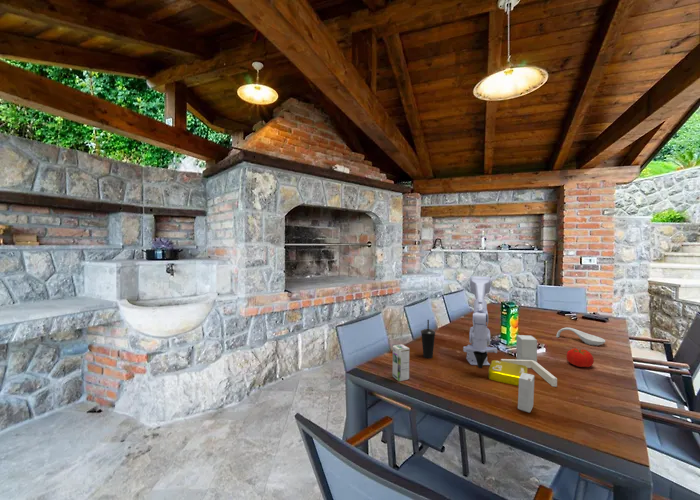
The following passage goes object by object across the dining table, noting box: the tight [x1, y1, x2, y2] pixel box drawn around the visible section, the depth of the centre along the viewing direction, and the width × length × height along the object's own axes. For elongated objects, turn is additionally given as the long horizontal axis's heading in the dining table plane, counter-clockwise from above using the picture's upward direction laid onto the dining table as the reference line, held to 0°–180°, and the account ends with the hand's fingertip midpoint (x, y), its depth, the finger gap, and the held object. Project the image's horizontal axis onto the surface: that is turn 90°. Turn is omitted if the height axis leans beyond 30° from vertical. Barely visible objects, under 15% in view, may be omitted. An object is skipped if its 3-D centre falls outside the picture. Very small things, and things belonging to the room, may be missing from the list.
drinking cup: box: [420, 319, 436, 359], centre depth 160 cm, size 8×8×20 cm
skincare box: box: [517, 372, 535, 413], centre depth 112 cm, size 6×4×12 cm
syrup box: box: [391, 344, 410, 382], centre depth 136 cm, size 6×6×14 cm
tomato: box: [566, 347, 595, 368], centre depth 149 cm, size 11×11×8 cm
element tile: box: [487, 359, 528, 387], centre depth 137 cm, size 15×15×5 cm
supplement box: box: [515, 334, 538, 363], centre depth 153 cm, size 7×7×13 cm
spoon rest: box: [556, 327, 606, 346], centre depth 182 cm, size 24×12×7 cm, turn 44°
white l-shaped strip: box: [500, 358, 558, 387], centre depth 138 cm, size 16×19×4 cm
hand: (479, 367), depth 139 cm, fingers closed
